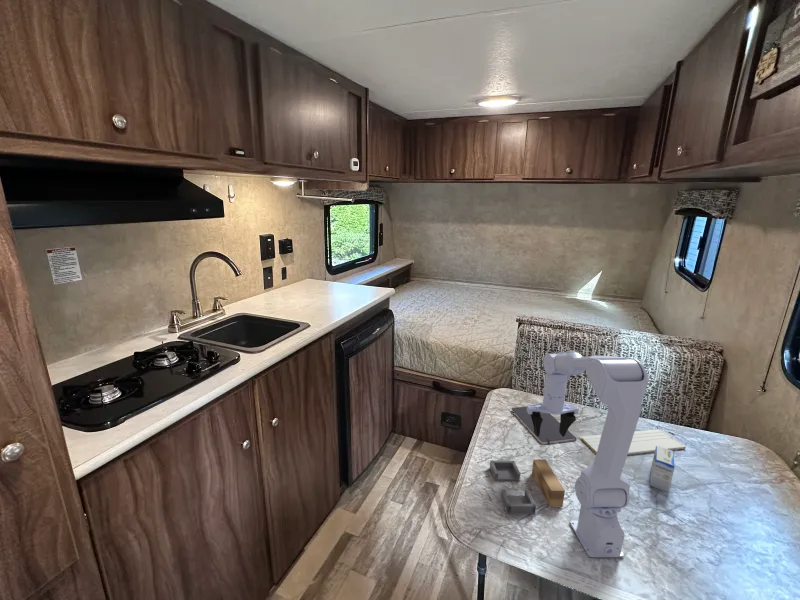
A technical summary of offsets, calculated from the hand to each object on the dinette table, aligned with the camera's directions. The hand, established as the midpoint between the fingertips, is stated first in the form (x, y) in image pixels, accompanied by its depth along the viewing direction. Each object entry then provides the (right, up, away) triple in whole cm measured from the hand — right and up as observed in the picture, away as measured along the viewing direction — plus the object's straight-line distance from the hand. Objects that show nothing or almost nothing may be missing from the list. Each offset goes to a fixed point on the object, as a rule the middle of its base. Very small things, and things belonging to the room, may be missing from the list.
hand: (549, 434), depth 108 cm
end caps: (-14, -12, -8) cm, 20 cm away
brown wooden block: (-4, -12, -8) cm, 15 cm away
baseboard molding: (+32, -8, +13) cm, 36 cm away
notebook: (+6, -5, +22) cm, 24 cm away
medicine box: (+30, -12, -4) cm, 32 cm away
